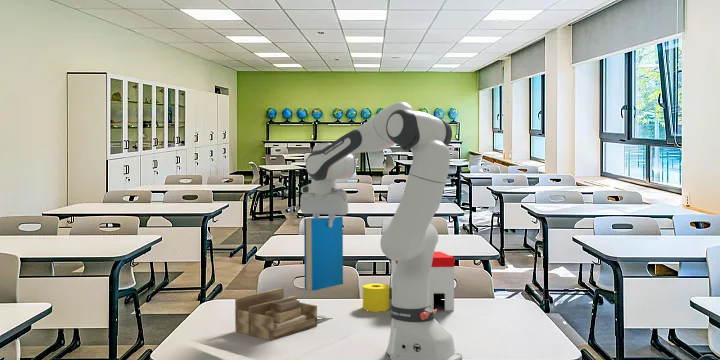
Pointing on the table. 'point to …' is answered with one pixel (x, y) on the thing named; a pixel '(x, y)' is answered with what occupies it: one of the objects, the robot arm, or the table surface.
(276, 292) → the rack
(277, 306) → the offcut small
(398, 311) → the robot arm
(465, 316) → the table surface
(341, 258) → the book
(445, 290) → the red-lidded white box
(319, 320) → the mat
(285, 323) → the offcut large
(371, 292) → the tape roll
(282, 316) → the offcut medium
